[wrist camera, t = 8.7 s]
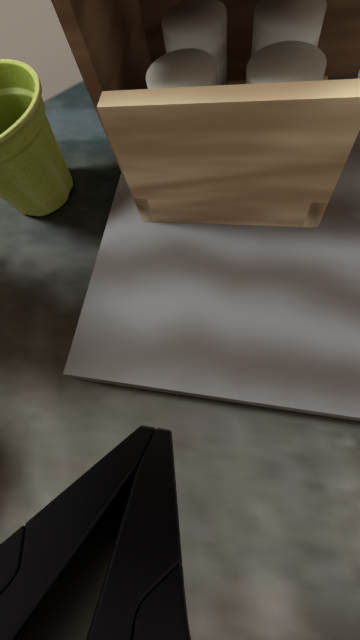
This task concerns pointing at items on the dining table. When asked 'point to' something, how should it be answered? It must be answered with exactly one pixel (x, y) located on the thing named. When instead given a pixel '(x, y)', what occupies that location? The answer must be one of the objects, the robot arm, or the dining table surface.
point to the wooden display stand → (219, 253)
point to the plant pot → (28, 145)
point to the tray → (235, 121)
